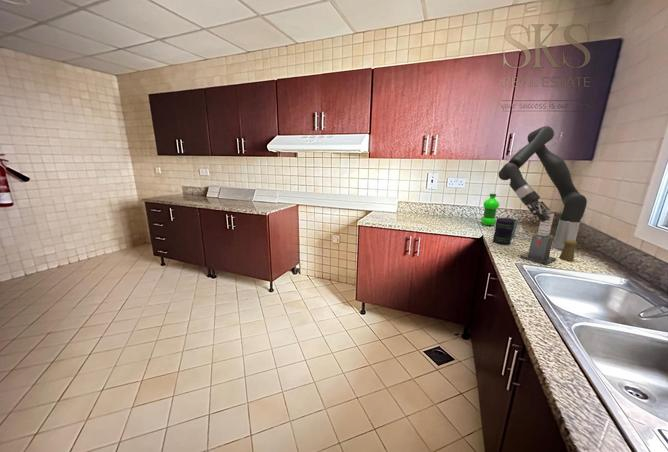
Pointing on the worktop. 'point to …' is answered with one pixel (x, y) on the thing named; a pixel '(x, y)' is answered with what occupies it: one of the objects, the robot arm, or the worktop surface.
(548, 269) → the worktop surface
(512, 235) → the drinking glass
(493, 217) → the plastic bottle
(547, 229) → the column
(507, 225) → the storage jar
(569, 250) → the cork
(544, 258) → the stand base
